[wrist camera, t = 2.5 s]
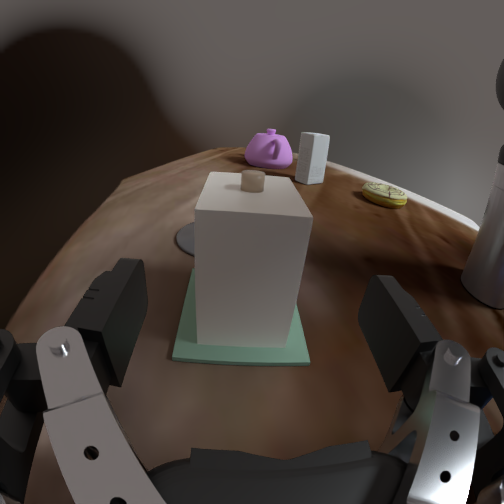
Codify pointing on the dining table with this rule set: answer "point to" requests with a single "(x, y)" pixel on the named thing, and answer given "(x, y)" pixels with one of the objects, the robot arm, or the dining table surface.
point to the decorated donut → (384, 195)
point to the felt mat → (233, 355)
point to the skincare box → (312, 158)
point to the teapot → (269, 151)
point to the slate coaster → (187, 238)
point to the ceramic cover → (248, 258)
